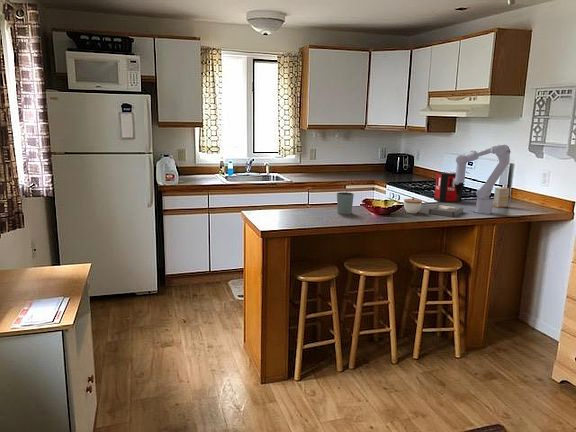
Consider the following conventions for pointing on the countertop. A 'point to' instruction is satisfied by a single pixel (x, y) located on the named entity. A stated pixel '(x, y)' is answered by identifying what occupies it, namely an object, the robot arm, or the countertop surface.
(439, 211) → the bay
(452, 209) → the t block
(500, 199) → the supplement box
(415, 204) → the lidded jar
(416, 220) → the countertop surface
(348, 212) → the grey cup
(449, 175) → the cleaning product box
